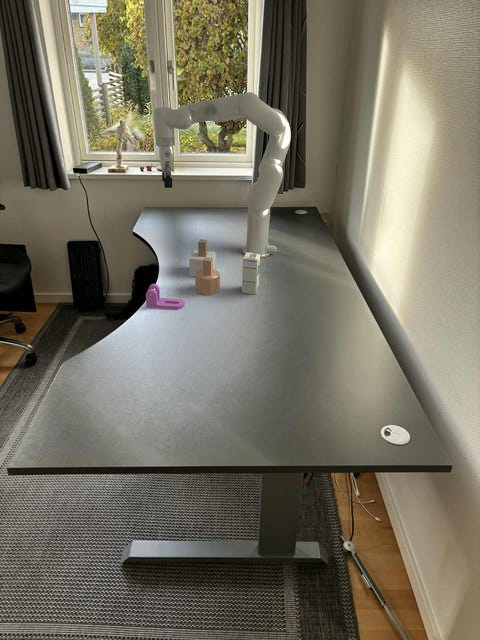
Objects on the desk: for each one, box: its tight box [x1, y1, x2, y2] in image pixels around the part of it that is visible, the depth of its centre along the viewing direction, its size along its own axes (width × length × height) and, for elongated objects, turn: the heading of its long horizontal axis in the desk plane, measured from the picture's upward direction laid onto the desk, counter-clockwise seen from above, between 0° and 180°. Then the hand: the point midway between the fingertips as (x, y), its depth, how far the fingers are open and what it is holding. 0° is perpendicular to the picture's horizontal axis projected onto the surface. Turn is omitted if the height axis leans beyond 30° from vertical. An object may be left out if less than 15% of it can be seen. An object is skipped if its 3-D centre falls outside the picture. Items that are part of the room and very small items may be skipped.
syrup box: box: [241, 252, 261, 295], centre depth 184 cm, size 6×6×14 cm
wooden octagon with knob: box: [194, 257, 221, 296], centre depth 183 cm, size 9×9×13 cm
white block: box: [189, 239, 217, 278], centre depth 195 cm, size 9×9×14 cm
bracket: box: [145, 283, 185, 310], centre depth 173 cm, size 13×6×7 cm, turn 87°
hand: (167, 184), depth 202 cm, fingers open, 9 cm apart
